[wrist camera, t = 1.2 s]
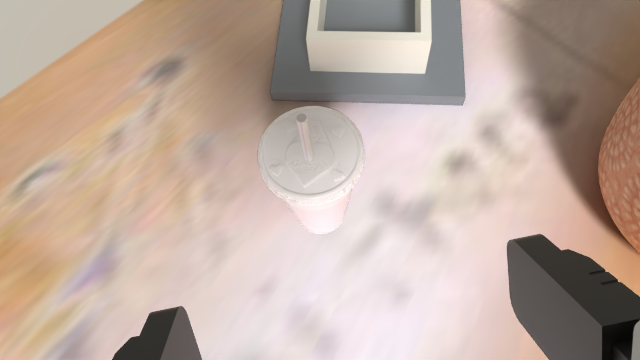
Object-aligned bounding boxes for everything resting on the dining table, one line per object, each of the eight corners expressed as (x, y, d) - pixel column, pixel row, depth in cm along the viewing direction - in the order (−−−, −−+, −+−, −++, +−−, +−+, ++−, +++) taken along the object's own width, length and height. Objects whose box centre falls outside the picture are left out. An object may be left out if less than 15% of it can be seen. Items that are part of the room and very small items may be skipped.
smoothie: (272, 246, 36) (228, 158, 24) (286, 169, 39) (253, 53, 26) (358, 256, 36) (360, 170, 23) (367, 177, 38) (372, 61, 26)
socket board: (272, 99, 42) (261, 60, 37) (289, -20, 48) (282, -67, 43) (462, 105, 40) (476, 65, 36) (456, -19, 46) (467, -67, 42)
